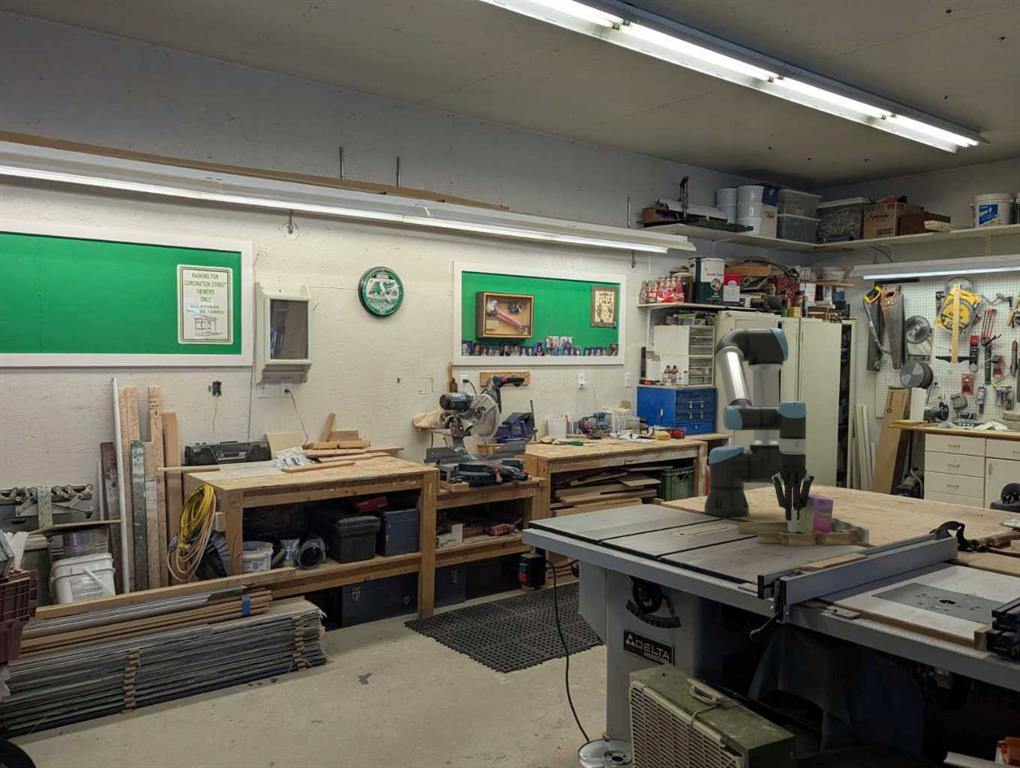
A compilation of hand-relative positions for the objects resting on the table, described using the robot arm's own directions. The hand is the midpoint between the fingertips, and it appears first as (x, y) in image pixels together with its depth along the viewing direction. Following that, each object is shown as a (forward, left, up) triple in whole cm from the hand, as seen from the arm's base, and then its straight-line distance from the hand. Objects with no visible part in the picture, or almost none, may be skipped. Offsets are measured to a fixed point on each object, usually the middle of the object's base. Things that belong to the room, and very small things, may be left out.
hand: (792, 531), depth 230 cm
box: (0, +6, -2) cm, 7 cm away
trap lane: (+2, +2, -2) cm, 3 cm away
